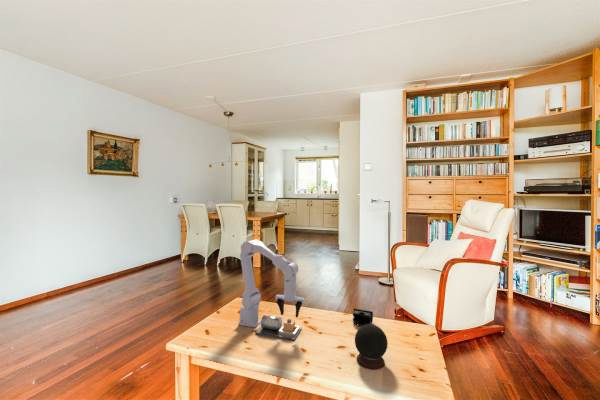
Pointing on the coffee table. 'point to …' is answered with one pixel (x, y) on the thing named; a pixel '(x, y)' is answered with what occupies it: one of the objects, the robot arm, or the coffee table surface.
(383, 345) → the black orb on pedestal
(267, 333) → the motor mount
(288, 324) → the cube with grey knob
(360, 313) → the end cap
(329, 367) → the coffee table surface
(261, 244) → the robot arm
